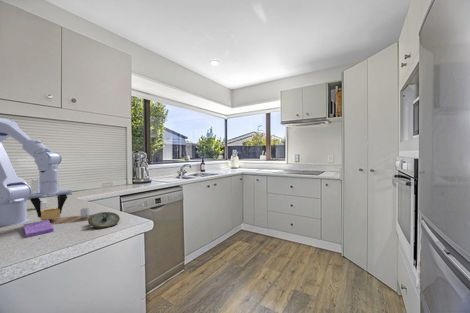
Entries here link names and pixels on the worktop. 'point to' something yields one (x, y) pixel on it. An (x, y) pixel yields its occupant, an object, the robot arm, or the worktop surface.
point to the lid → (103, 219)
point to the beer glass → (36, 189)
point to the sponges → (38, 228)
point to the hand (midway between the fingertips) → (49, 215)
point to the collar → (50, 213)
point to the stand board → (72, 218)
